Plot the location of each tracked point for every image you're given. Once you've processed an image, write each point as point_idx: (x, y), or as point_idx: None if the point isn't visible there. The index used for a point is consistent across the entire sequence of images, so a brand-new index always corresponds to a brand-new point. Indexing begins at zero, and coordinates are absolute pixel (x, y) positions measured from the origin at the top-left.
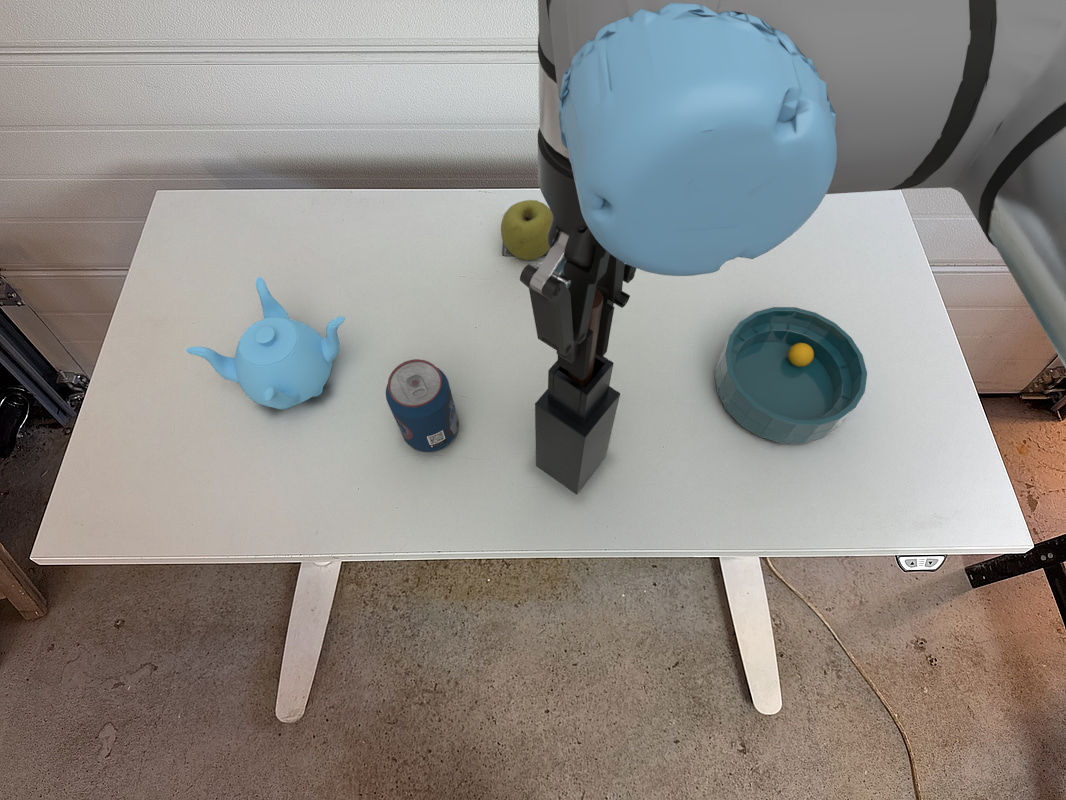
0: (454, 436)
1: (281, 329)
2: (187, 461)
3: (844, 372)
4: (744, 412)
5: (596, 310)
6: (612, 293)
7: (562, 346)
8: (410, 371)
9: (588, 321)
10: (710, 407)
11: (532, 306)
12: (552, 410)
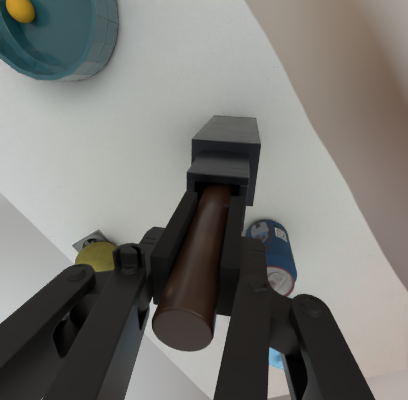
0: (265, 221)
1: (271, 355)
2: (358, 333)
3: None
4: (107, 23)
5: (195, 305)
6: (137, 293)
7: (346, 347)
8: None
9: (234, 312)
10: (121, 61)
11: None
12: (250, 188)
